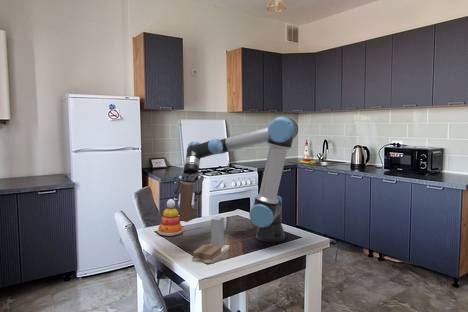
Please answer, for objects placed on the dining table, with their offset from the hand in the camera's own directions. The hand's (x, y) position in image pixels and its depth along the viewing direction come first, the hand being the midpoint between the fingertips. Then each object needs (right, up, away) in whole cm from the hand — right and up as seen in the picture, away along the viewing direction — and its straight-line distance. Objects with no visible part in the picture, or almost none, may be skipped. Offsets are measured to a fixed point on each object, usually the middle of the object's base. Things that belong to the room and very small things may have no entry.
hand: (185, 206), depth 164 cm
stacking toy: (-13, -20, +33) cm, 41 cm away
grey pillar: (+14, -20, +6) cm, 26 cm away
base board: (+12, -22, -1) cm, 26 cm away
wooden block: (0, -7, +4) cm, 8 cm away
